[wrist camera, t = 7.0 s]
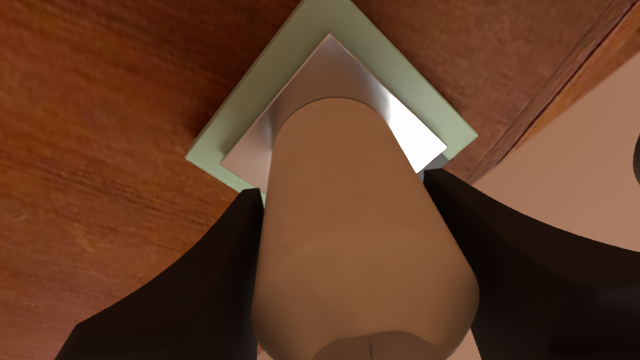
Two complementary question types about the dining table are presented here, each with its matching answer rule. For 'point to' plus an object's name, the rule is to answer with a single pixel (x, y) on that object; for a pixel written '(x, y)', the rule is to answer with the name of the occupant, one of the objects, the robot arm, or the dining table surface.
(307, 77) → the thin square metal plate
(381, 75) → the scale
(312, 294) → the candle
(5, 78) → the dining table surface
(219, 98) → the dining table surface
